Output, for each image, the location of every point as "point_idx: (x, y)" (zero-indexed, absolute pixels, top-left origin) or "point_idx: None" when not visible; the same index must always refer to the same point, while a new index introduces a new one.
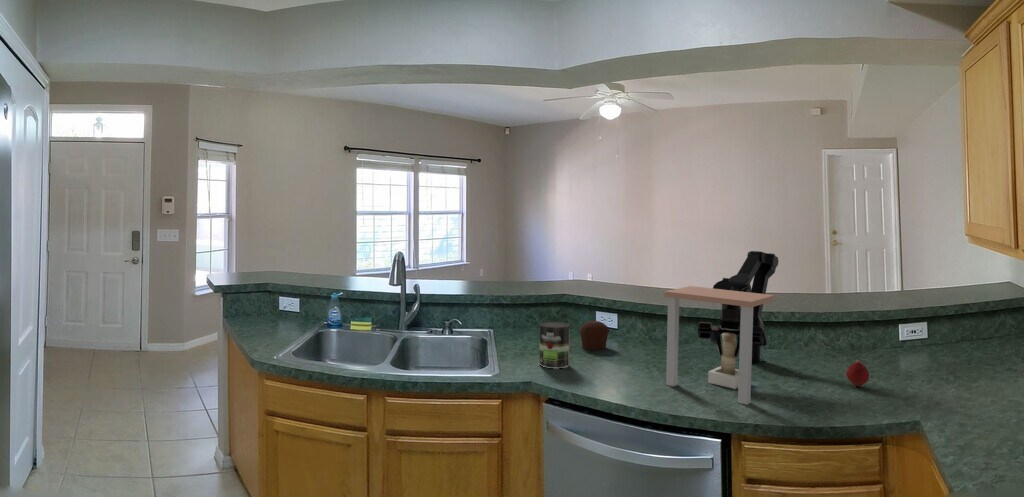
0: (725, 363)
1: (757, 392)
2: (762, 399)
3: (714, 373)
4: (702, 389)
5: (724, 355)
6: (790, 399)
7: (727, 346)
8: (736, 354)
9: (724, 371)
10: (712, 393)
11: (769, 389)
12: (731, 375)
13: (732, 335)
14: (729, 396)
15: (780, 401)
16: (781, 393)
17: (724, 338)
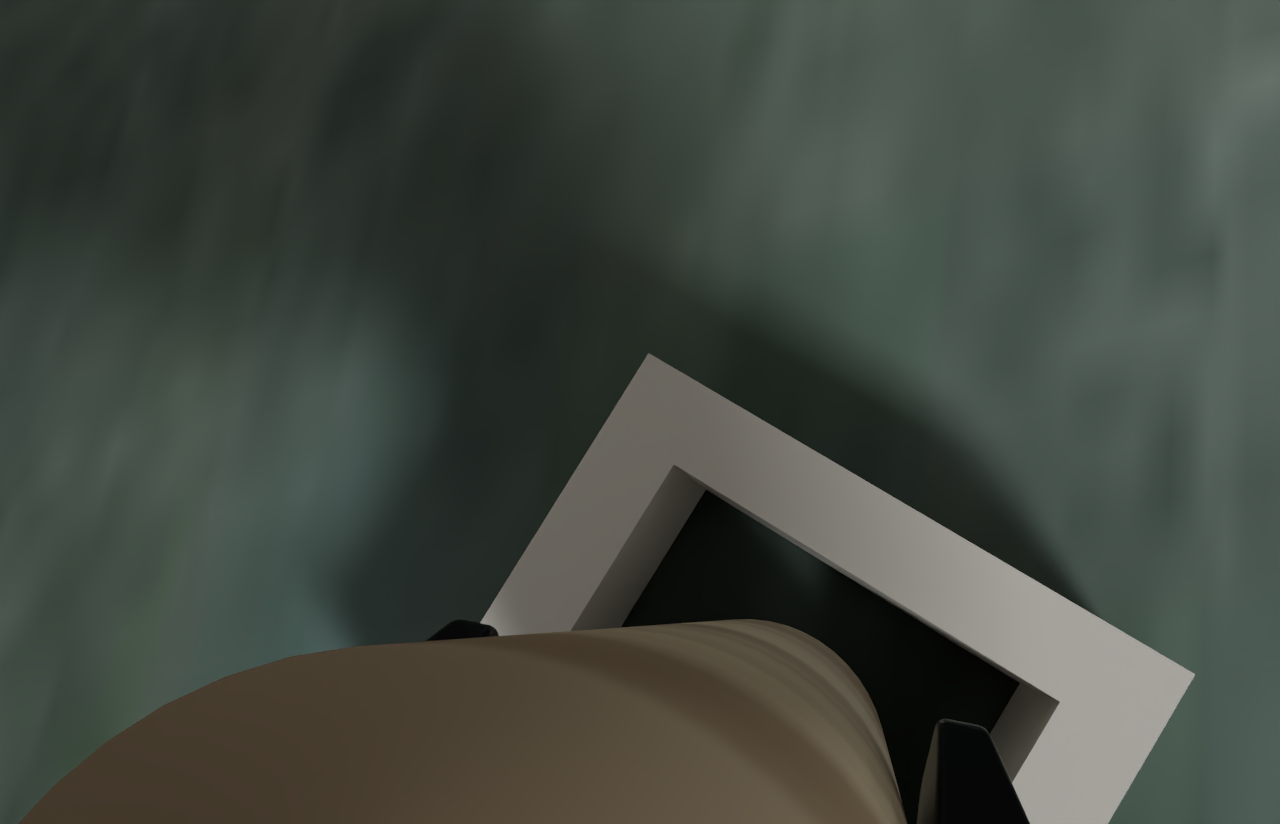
0: (804, 649)
1: (384, 316)
2: (389, 25)
3: (1051, 594)
4: (1246, 231)
5: (830, 685)
6: (49, 135)
7: (705, 646)
8: (448, 634)
9: (828, 655)
10: (1078, 70)
11: (181, 510)
12: (708, 464)
13: (200, 780)
14: (822, 9)
15: (190, 18)
16: (78, 359)
17: (837, 792)
